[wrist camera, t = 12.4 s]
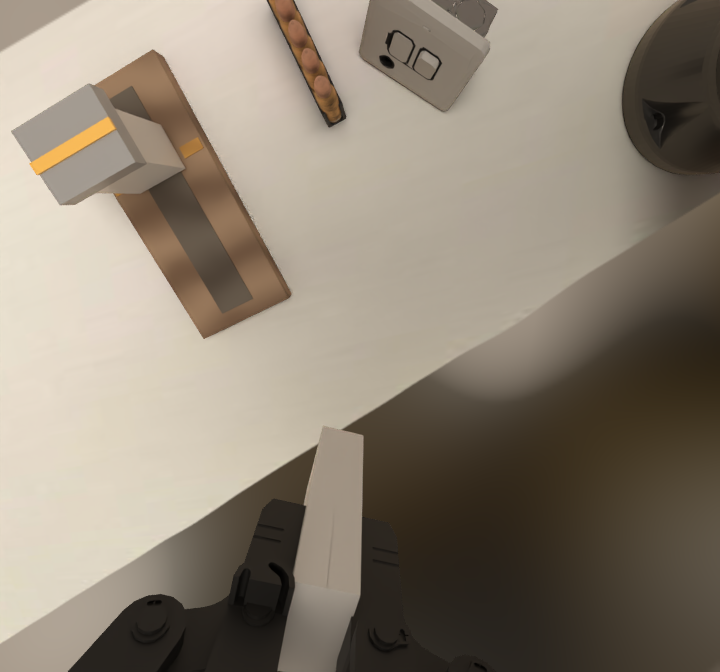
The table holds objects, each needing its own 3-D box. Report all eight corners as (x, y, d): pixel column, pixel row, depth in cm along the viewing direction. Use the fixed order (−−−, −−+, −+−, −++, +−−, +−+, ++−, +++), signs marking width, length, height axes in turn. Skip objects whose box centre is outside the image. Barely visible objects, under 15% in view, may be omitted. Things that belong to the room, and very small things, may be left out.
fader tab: (196, 171, 39) (134, 161, 29) (137, 203, 40) (57, 205, 30) (164, 113, 38) (87, 82, 27) (103, 149, 39) (7, 131, 28)
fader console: (291, 293, 45) (288, 298, 43) (210, 333, 46) (203, 339, 44) (163, 56, 38) (152, 48, 36) (74, 111, 40) (58, 106, 38)
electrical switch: (357, 56, 38) (361, 1, 29) (386, -1, 37) (400, -77, 28) (445, 115, 40) (474, 79, 31) (475, 61, 39) (515, 7, 30)
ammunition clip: (271, 7, 37) (228, -77, 26) (289, -5, 37) (254, -95, 26) (329, 128, 40) (313, 100, 29) (346, 118, 40) (338, 86, 28)
